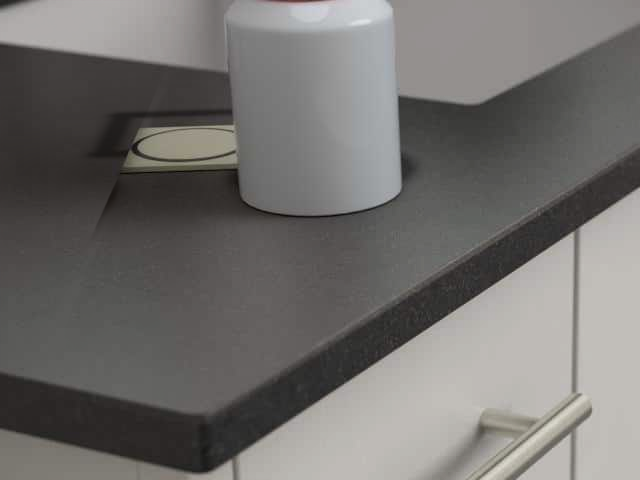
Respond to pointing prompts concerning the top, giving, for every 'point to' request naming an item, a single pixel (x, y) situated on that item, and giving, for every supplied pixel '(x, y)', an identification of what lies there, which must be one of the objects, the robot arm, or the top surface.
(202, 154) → the coaster
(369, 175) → the pill bottle
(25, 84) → the top surface
